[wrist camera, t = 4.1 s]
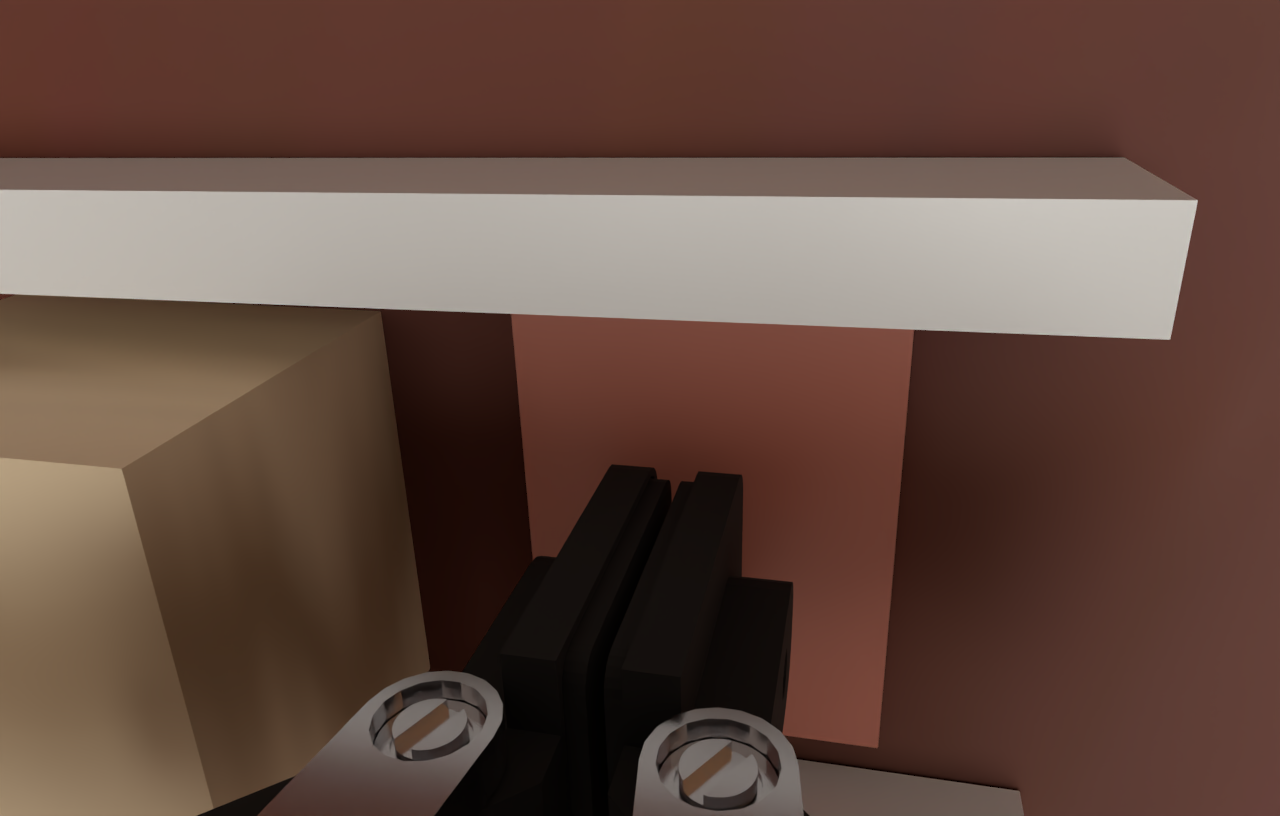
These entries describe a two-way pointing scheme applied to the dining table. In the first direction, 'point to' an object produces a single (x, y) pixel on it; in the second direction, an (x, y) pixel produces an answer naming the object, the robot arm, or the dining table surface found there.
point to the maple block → (192, 548)
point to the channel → (667, 330)
